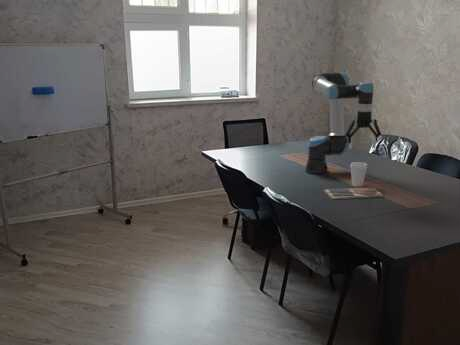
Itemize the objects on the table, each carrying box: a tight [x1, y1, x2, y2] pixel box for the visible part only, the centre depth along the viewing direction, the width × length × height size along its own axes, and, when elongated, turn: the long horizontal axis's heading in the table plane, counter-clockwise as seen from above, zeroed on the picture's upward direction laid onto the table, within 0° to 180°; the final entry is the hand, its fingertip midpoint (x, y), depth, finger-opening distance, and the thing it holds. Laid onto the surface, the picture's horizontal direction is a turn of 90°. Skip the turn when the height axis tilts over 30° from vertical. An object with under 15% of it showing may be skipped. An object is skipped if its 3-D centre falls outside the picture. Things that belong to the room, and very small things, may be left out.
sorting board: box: [323, 186, 384, 200], centre depth 245 cm, size 15×29×1 cm, turn 94°
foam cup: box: [349, 161, 368, 187], centre depth 259 cm, size 10×9×13 cm
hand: (362, 148), depth 247 cm, fingers open, 13 cm apart
